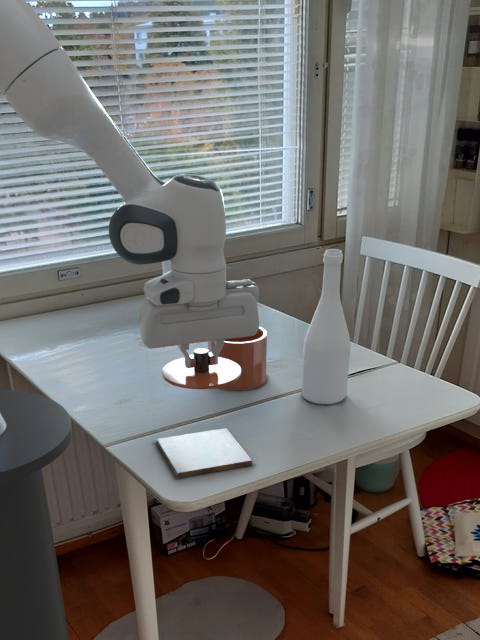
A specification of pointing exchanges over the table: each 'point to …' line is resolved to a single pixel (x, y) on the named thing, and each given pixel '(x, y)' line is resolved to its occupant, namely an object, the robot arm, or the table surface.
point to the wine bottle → (327, 341)
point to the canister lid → (201, 372)
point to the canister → (246, 359)
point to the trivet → (203, 452)
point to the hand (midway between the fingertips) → (201, 365)
